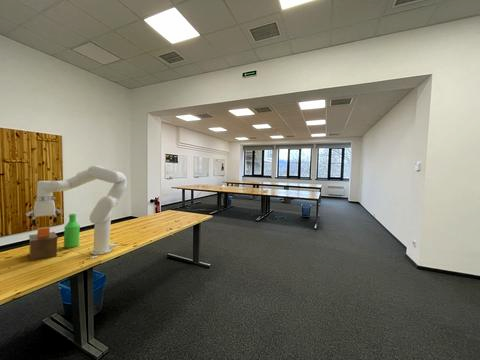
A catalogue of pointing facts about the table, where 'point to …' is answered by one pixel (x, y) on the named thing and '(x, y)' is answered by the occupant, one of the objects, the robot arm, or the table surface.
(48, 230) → the cube
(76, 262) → the table surface
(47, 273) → the table surface
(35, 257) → the shelf
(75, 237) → the bottle
